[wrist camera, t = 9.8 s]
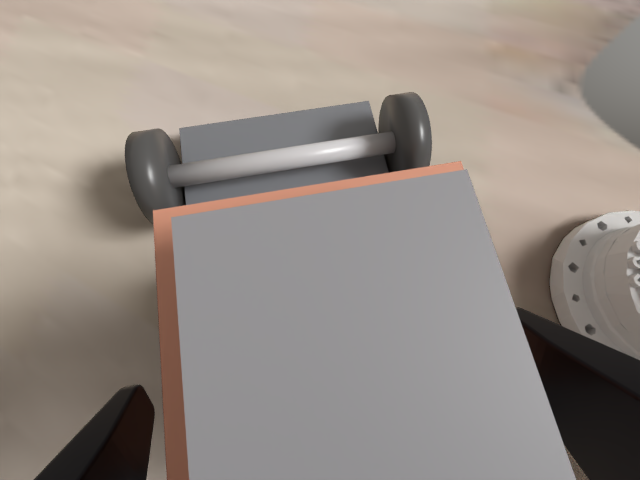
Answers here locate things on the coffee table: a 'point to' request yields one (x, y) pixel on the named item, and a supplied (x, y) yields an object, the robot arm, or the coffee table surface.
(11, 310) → the coffee table surface
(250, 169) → the chassis
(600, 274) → the mechanical component
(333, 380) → the two-tone capped block
